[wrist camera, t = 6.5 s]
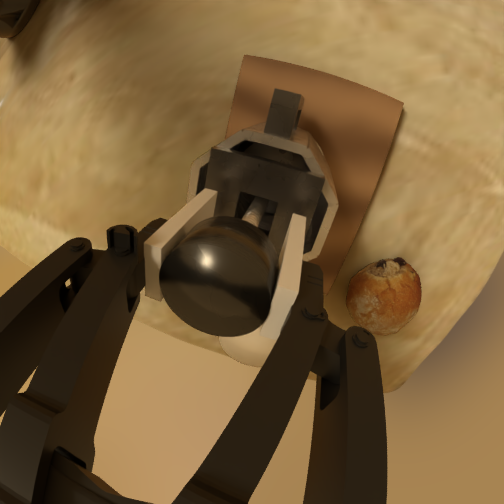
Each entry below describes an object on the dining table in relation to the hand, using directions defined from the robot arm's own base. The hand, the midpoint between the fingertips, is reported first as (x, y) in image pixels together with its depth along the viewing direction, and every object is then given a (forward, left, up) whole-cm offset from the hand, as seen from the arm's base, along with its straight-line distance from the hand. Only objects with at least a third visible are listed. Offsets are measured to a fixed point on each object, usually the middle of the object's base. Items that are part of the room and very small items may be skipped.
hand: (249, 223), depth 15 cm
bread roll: (+10, +17, -15) cm, 25 cm away
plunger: (0, 0, -11) cm, 11 cm away
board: (+1, +2, -14) cm, 15 cm away
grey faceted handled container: (-1, 0, -13) cm, 13 cm away
